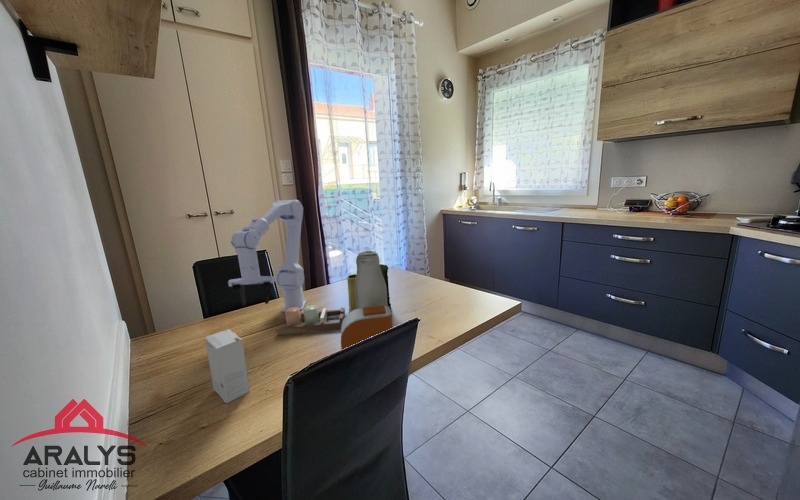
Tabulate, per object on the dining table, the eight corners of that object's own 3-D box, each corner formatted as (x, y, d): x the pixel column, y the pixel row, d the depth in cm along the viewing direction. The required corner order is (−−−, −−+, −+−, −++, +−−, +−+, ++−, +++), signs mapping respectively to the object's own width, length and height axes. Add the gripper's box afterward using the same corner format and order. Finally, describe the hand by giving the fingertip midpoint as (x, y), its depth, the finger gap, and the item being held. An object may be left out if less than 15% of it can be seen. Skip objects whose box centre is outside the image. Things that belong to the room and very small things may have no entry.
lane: (285, 320, 113) (284, 311, 112) (345, 314, 116) (344, 306, 115) (277, 335, 102) (275, 325, 101) (343, 328, 104) (342, 319, 104)
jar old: (306, 322, 111) (304, 305, 109) (320, 321, 111) (318, 304, 110) (304, 328, 106) (302, 311, 105) (318, 327, 107) (316, 310, 105)
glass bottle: (375, 322, 108) (369, 246, 102) (394, 331, 101) (390, 250, 95) (352, 332, 102) (345, 252, 95) (371, 343, 94) (365, 256, 88)
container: (364, 314, 115) (360, 269, 111) (374, 305, 123) (371, 263, 119) (385, 317, 111) (382, 271, 107) (395, 308, 120) (392, 264, 115)
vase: (361, 314, 116) (358, 278, 112) (346, 313, 117) (343, 278, 114) (366, 307, 121) (363, 273, 118) (352, 306, 123) (349, 273, 119)
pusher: (324, 318, 113) (323, 308, 112) (362, 314, 115) (361, 304, 114) (321, 328, 105) (320, 318, 104) (362, 324, 107) (361, 314, 106)
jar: (288, 324, 110) (286, 307, 109) (302, 322, 111) (300, 306, 109) (286, 330, 105) (283, 313, 104) (300, 329, 106) (298, 312, 104)
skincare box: (213, 390, 76) (201, 337, 72) (238, 378, 80) (228, 327, 77) (226, 405, 70) (214, 348, 67) (252, 391, 75) (242, 337, 72)
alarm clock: (390, 341, 95) (388, 301, 92) (395, 356, 87) (392, 313, 84) (343, 348, 92) (339, 307, 89) (342, 364, 84) (338, 319, 81)
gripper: (221, 271, 97) (228, 310, 100) (268, 267, 98) (273, 306, 102) (230, 265, 104) (237, 302, 107) (274, 262, 105) (279, 298, 108)
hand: (255, 303), depth 105 cm, fingers open, 7 cm apart
